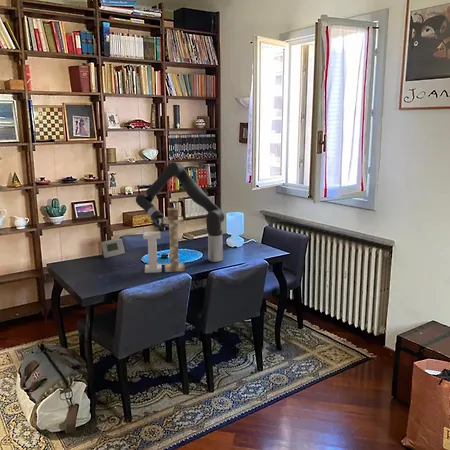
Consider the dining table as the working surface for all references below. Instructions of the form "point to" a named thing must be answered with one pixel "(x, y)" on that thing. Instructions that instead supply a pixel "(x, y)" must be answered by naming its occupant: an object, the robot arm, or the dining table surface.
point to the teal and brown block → (172, 213)
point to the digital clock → (112, 248)
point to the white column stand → (152, 252)
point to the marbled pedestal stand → (173, 245)
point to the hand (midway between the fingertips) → (168, 230)
